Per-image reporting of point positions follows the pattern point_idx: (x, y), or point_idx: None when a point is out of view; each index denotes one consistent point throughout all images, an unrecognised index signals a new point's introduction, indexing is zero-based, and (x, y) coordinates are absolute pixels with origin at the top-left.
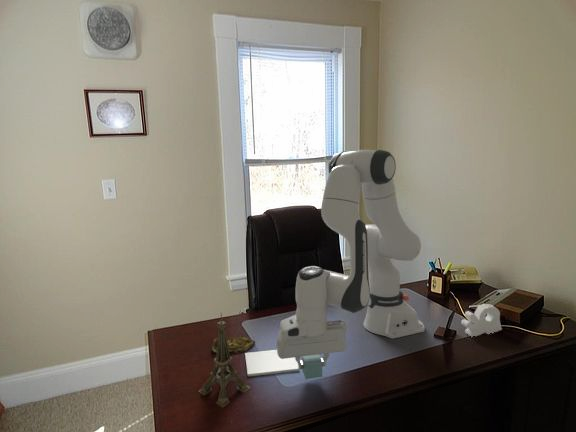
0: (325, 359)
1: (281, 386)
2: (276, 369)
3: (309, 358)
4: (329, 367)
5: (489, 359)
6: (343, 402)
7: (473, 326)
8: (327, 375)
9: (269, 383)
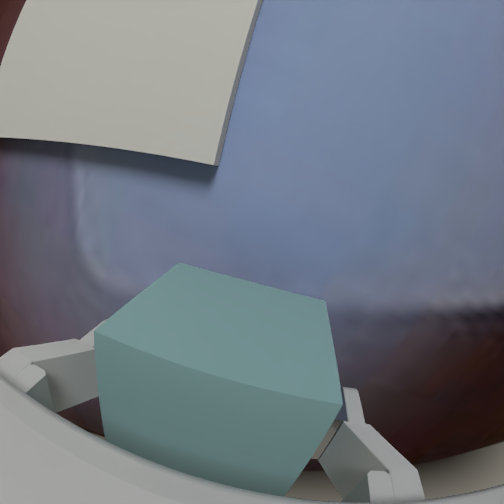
0: (337, 478)
1: (75, 269)
2: (75, 127)
3: (164, 446)
4: (436, 226)
5: None
6: (305, 470)
7: None
8: (375, 300)
9: (37, 220)
